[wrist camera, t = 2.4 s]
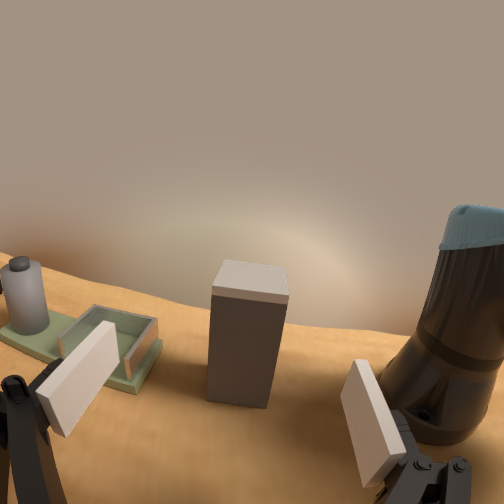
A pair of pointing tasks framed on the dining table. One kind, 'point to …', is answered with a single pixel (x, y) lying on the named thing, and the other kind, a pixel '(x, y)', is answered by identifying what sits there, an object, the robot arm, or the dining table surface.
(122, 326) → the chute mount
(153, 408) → the dining table surface
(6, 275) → the desk organizer stand
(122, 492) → the dining table surface
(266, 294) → the grey block
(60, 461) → the dining table surface
